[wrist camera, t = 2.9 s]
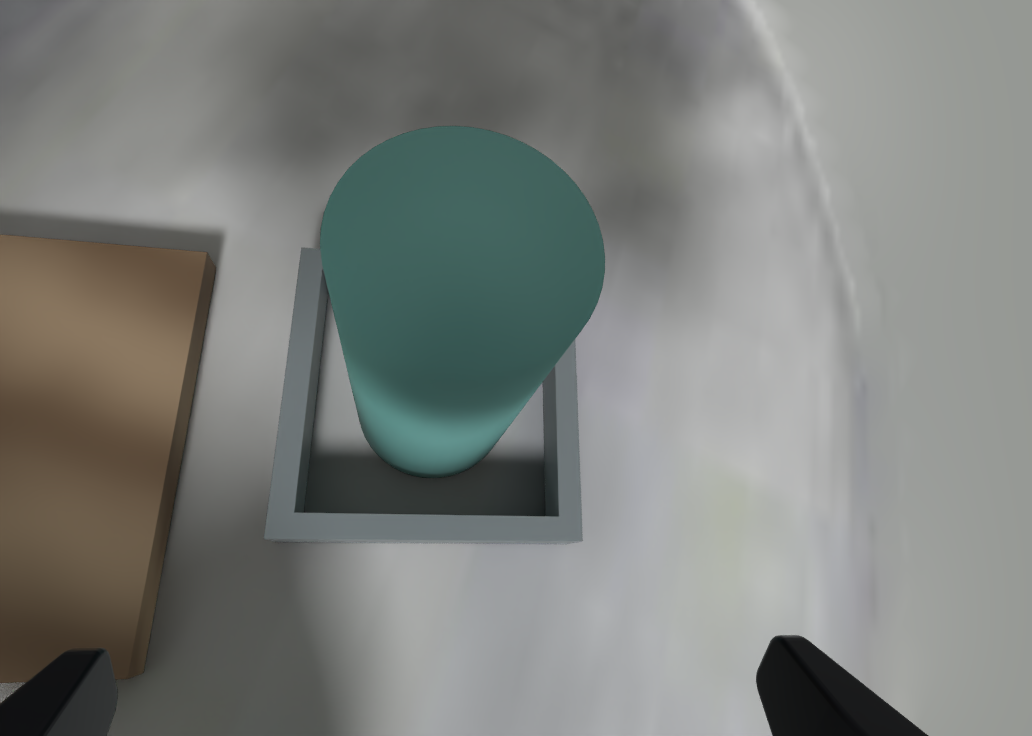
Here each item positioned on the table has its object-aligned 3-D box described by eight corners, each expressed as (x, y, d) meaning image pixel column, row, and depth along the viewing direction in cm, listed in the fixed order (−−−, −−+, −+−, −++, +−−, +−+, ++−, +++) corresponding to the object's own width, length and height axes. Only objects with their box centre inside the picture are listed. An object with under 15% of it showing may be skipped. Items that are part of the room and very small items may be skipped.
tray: (566, 544, 22) (582, 541, 20) (276, 541, 20) (263, 538, 19) (559, 293, 26) (572, 271, 24) (309, 273, 24) (301, 247, 22)
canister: (505, 480, 23) (611, 386, 11) (351, 475, 22) (303, 369, 10) (506, 340, 24) (598, 143, 13) (364, 331, 23) (334, 109, 12)
